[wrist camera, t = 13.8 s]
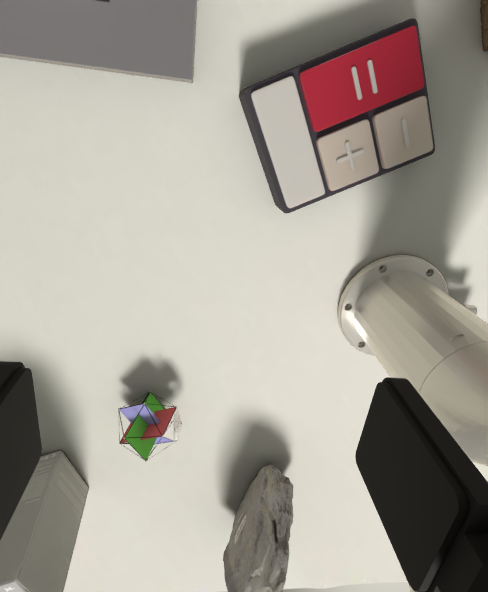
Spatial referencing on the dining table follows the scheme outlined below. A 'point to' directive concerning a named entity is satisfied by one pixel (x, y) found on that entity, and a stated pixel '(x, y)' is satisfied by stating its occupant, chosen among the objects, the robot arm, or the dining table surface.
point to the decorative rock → (261, 535)
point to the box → (484, 23)
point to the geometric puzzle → (149, 425)
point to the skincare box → (43, 528)
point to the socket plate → (103, 35)
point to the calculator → (342, 117)
